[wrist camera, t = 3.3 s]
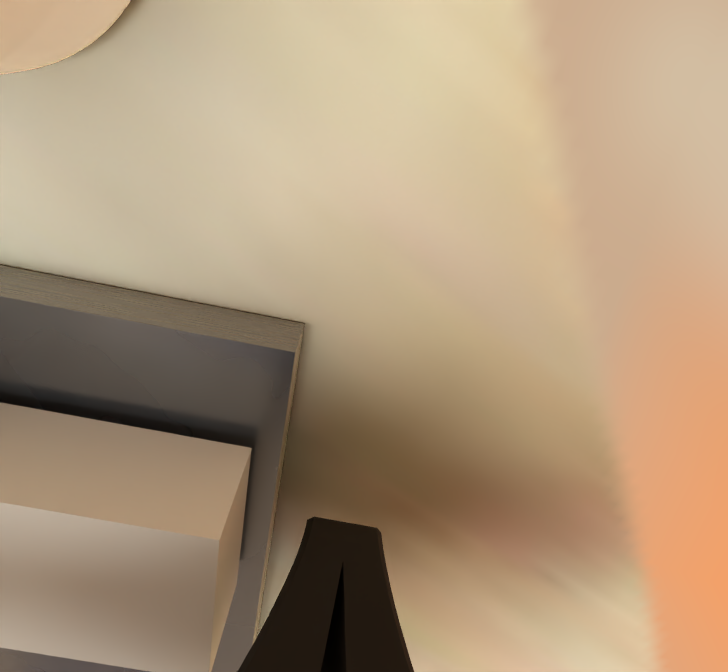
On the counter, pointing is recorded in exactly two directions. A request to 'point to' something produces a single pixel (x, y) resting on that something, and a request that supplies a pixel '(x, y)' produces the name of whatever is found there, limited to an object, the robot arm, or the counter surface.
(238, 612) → the base plate
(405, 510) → the counter surface
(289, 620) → the robot arm
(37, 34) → the drinking glass
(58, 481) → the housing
